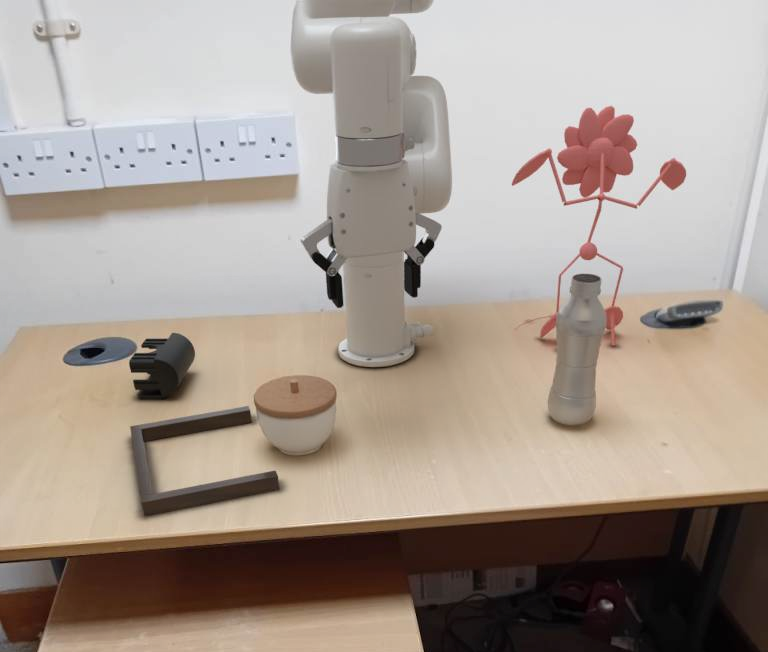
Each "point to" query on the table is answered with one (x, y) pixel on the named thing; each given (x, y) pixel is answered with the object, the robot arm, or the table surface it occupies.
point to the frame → (201, 492)
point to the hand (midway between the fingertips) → (374, 299)
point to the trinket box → (296, 412)
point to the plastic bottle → (577, 352)
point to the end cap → (162, 366)
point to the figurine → (598, 179)
